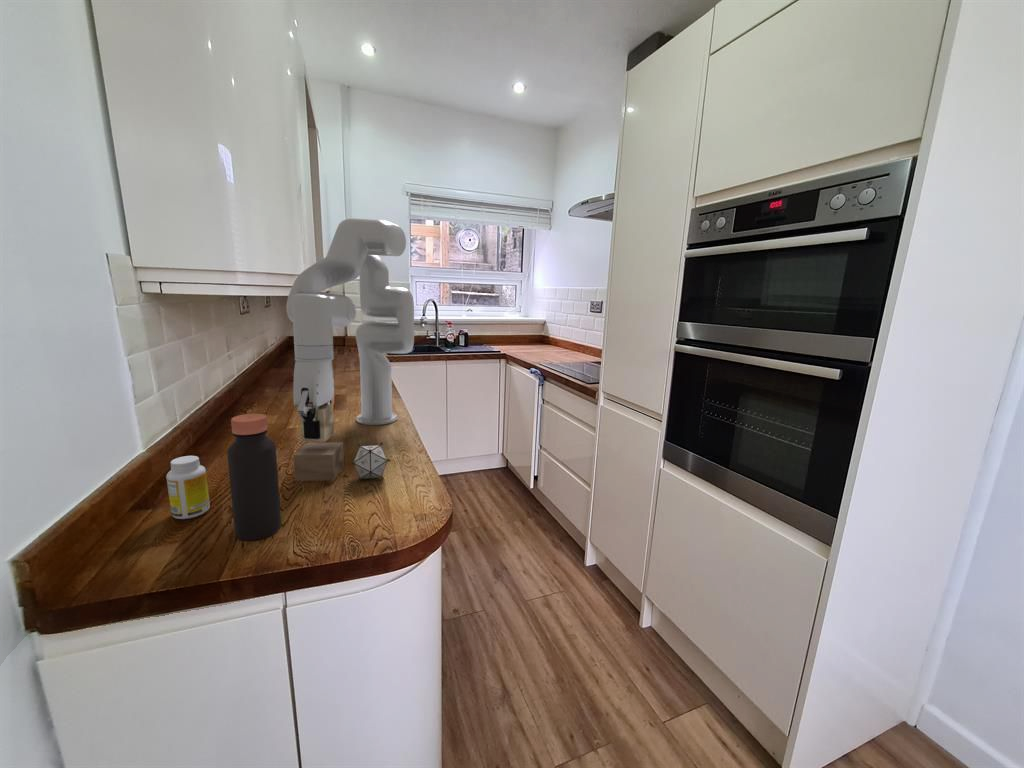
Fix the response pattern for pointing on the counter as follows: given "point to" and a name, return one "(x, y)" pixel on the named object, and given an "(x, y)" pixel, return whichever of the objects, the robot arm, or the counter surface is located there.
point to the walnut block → (318, 461)
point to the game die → (370, 461)
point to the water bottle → (253, 478)
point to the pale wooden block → (321, 423)
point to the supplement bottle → (187, 488)
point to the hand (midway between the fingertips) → (318, 433)
